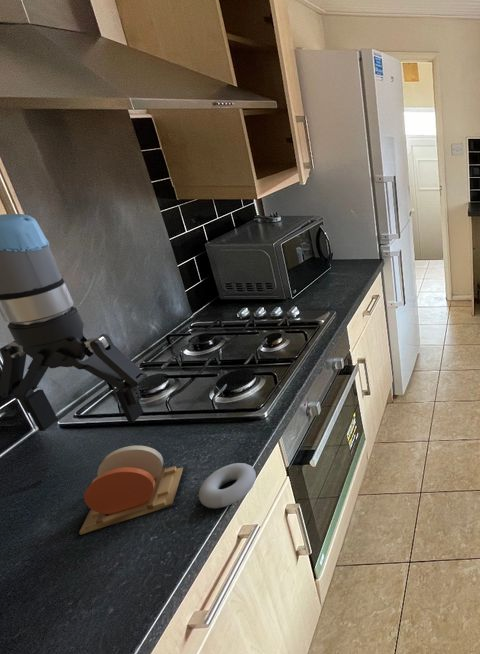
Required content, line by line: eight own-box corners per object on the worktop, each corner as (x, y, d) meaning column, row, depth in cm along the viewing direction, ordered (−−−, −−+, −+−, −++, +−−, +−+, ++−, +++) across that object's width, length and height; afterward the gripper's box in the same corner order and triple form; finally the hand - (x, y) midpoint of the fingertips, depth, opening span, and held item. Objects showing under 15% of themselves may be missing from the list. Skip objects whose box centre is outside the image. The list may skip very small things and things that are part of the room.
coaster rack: (80, 534, 77) (76, 528, 77) (100, 493, 86) (97, 486, 85) (172, 505, 83) (169, 499, 83) (183, 468, 92) (180, 462, 91)
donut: (252, 463, 93) (198, 487, 87) (249, 452, 92) (194, 475, 86) (262, 493, 86) (203, 522, 80) (258, 481, 85) (199, 509, 79)
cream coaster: (107, 497, 84) (89, 459, 80) (109, 492, 85) (91, 455, 81) (168, 479, 88) (153, 443, 85) (169, 475, 89) (155, 439, 86)
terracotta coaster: (95, 522, 79) (74, 484, 75) (98, 517, 80) (77, 479, 76) (160, 501, 83) (143, 464, 80) (162, 496, 84) (145, 459, 81)
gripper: (146, 298, 70) (183, 400, 78) (-26, 308, 66) (31, 413, 74) (113, 320, 63) (158, 429, 71) (-81, 331, 60) (-11, 445, 68)
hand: (93, 421), depth 73 cm, fingers open, 13 cm apart
